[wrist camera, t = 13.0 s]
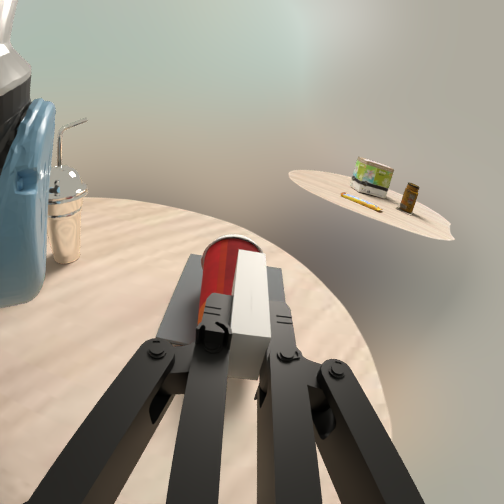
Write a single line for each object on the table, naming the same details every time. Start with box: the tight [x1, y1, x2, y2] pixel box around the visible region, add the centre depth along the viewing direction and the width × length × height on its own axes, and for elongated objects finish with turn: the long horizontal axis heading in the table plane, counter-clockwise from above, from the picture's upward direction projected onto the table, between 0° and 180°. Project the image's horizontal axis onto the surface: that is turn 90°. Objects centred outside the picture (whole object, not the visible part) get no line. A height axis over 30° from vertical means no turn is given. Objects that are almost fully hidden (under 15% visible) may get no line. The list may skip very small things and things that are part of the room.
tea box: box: [350, 157, 394, 199], centre depth 115 cm, size 15×10×15 cm
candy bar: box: [341, 192, 383, 211], centre depth 95 cm, size 17×4×2 cm, turn 49°
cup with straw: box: [47, 118, 88, 264], centre depth 31 cm, size 8×9×20 cm
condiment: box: [396, 183, 419, 215], centre depth 100 cm, size 7×8×12 cm
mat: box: [156, 254, 285, 345], centre depth 35 cm, size 18×14×1 cm
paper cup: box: [197, 234, 263, 326], centre depth 29 cm, size 8×8×14 cm
